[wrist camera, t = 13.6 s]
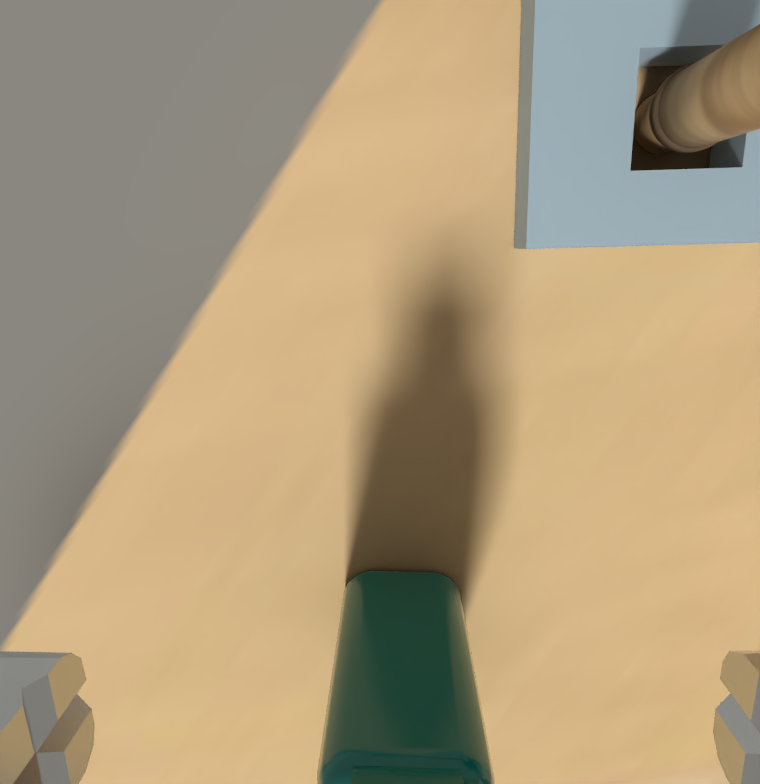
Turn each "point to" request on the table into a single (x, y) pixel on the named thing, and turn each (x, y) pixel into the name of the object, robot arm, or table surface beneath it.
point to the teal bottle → (403, 687)
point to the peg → (704, 100)
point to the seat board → (622, 128)
